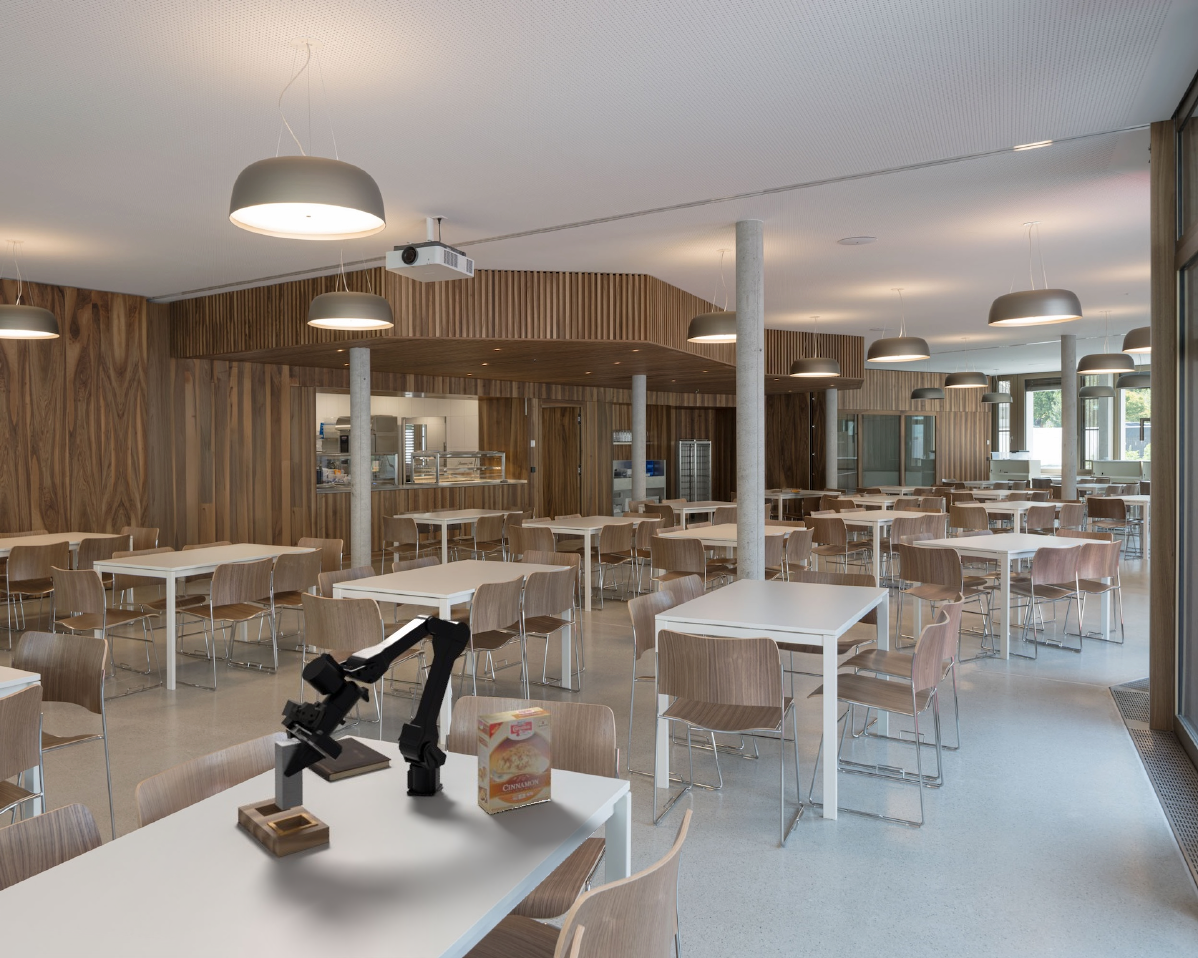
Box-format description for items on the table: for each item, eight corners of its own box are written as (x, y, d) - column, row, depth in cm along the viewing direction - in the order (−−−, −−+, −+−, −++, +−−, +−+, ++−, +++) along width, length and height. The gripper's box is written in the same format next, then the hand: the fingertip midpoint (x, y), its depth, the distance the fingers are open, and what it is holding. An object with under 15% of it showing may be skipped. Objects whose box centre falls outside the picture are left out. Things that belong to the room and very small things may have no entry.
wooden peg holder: (238, 821, 174) (238, 805, 174) (285, 808, 181) (285, 793, 181) (278, 857, 158) (278, 839, 158) (329, 841, 165) (329, 824, 165)
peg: (275, 804, 167) (274, 741, 167) (295, 799, 170) (294, 737, 170) (282, 810, 164) (282, 746, 164) (302, 804, 167) (302, 742, 167)
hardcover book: (351, 745, 225) (351, 736, 225) (391, 768, 208) (391, 758, 208) (291, 758, 215) (291, 749, 215) (328, 783, 197) (328, 773, 197)
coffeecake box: (489, 815, 177) (489, 723, 177) (476, 804, 184) (476, 715, 183) (552, 801, 185) (552, 713, 185) (538, 790, 191) (537, 705, 191)
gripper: (290, 675, 176) (236, 739, 169) (326, 693, 162) (269, 763, 155) (327, 706, 182) (275, 769, 174) (365, 725, 167) (311, 794, 160)
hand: (281, 773), depth 166 cm, fingers closed on peg, 4 cm apart
